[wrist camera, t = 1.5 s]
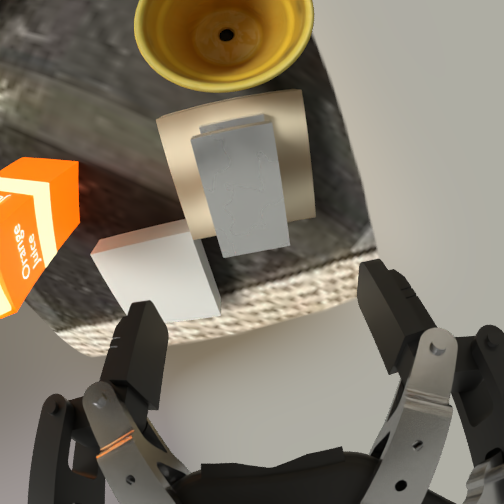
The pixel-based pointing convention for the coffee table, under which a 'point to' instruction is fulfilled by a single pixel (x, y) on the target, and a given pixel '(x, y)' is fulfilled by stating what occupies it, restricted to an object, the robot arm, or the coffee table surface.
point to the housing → (242, 184)
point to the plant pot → (213, 48)
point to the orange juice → (33, 222)
